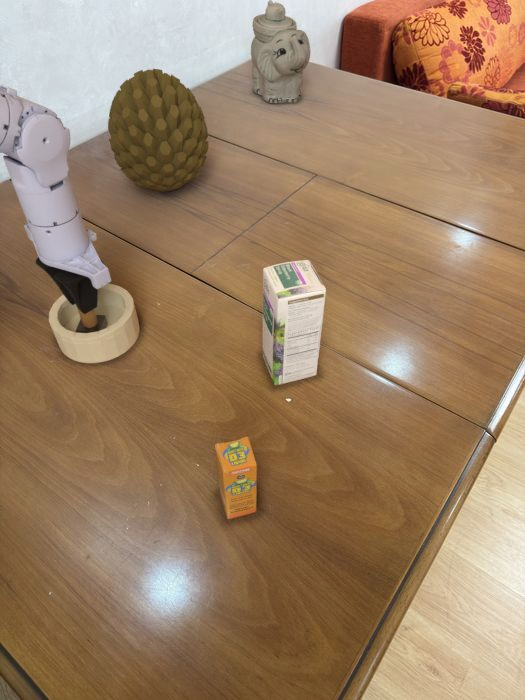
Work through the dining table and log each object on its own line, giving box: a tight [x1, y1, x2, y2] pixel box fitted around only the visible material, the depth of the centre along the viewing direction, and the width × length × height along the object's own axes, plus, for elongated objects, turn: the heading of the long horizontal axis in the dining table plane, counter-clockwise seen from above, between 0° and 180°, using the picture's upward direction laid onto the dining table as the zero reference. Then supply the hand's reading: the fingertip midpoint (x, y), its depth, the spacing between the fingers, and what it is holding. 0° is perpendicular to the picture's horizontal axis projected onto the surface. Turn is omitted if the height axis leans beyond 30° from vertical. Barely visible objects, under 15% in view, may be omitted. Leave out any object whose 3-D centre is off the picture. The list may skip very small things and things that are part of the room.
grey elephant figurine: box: [250, 0, 311, 104], centre depth 120 cm, size 16×15×19 cm
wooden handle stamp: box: [76, 305, 108, 333], centre depth 69 cm, size 3×3×9 cm
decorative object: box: [107, 68, 209, 193], centre depth 92 cm, size 17×17×20 cm
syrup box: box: [261, 259, 327, 386], centre depth 63 cm, size 6×6×14 cm
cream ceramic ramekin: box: [48, 282, 140, 364], centre depth 71 cm, size 11×11×4 cm
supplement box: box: [214, 436, 258, 520], centre depth 52 cm, size 3×3×10 cm
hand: (83, 304), depth 69 cm, fingers closed on wooden handle stamp, 2 cm apart
